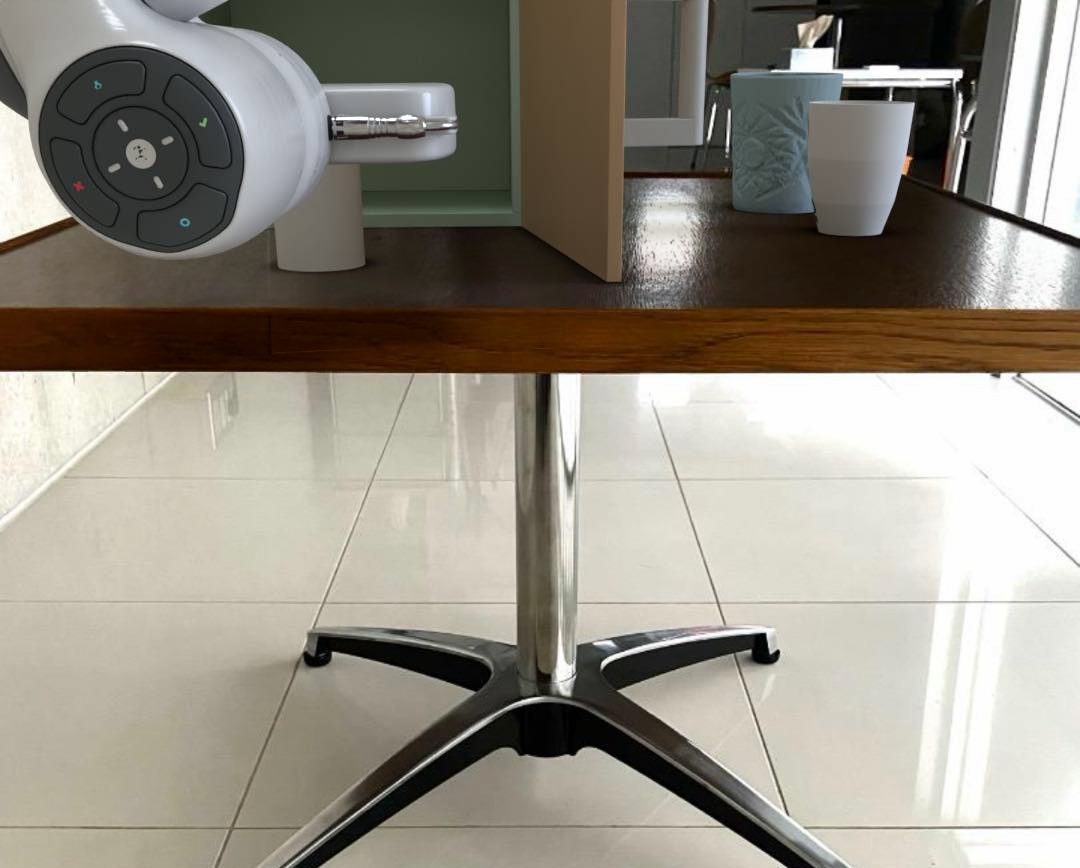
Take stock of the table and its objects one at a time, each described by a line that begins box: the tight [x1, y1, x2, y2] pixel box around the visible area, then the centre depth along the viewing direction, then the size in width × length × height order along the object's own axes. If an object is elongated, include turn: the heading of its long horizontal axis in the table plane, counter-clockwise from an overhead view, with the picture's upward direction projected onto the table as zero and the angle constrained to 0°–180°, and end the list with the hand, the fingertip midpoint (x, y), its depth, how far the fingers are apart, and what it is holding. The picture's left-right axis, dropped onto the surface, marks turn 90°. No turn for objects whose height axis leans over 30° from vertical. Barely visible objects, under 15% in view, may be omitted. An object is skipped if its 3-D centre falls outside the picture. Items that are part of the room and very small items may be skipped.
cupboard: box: [198, 0, 522, 230], centre depth 108 cm, size 20×28×26 cm
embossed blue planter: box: [729, 71, 844, 214], centre depth 113 cm, size 10×10×12 cm
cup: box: [808, 100, 916, 237], centre depth 98 cm, size 8×8×10 cm
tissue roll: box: [274, 164, 366, 273], centre depth 83 cm, size 6×6×10 cm
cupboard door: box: [519, 0, 710, 283], centre depth 86 cm, size 7×28×26 cm, turn 12°
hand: (283, 116), depth 70 cm, fingers open, 8 cm apart
